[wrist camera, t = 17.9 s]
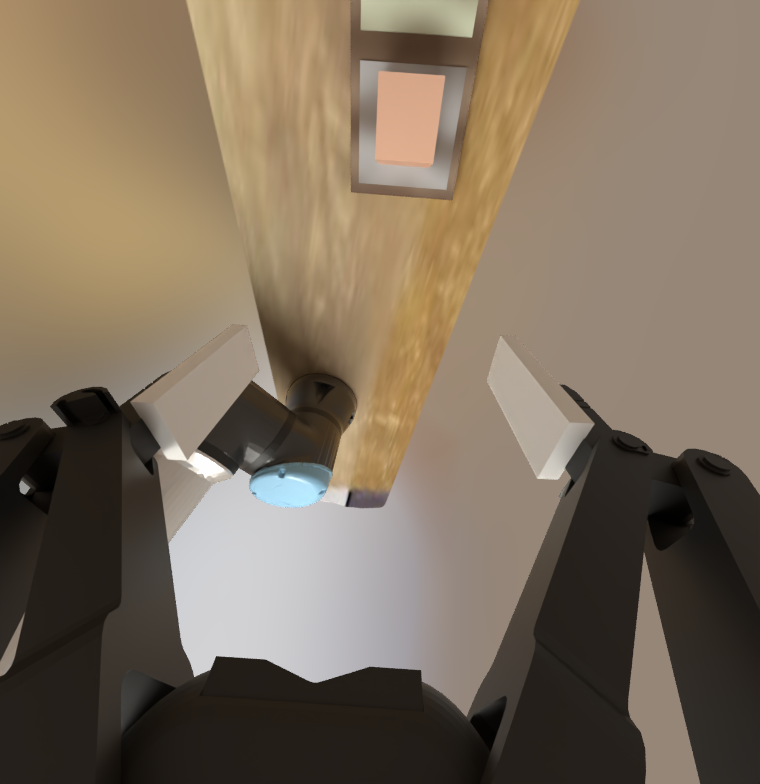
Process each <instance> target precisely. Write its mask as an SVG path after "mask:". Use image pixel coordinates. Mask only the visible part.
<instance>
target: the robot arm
mask: <svg viewBox="0 0 760 784" xmlns="http://www.w3.org/2000/svg"><path fill="white" fill-rule="evenodd" d="M258 372H259V368H258V364H257V361H256V357H255V353H254V350H253V346H252V342H251V339H250V335H249V332H248V328H247V325H231V326H230V327H229V328H227V329H226V330H225V331H223V332H222V333H221V334H219V335H218V336H217V337H215V338H214V339H213V340H211V341H210V342H209V343H207V344H206V345H205V346H203V347H202V348H201V349H200V350H198V351H197V352H195V353H194V354H193V355H192V356H190V357H189V358H188V359H186V360H185V361H184V362H182V363H181V364H180V365H178V366H177V367H176V368H174V369H173V370H171V371H169V372H167V373H165V374H163V375H161V376H160V377H159V378H157V379H156V380H155V381H153V383H151V384H149V385H148V386H147V387H145V389H142V390H141V391H140V392H138V393H137V394H136V395H134V396H133V397H132V398H130V399H129V400H128V401H126V402H125V403H124V404H122V405H121V406H120V407H119V406H118V404H117V403H116V401H115V400H114V398H113V397H112V396H111V394H110V393H109V392H108V390H107V388H103V387H90V388H85V389H81V390H77V391H74V392H71V393H69V394H67V395H64V396H62V397H60V398H59V399H57V400H56V401H54V402H53V404H52V405H51V406H50V407H51V408H52V409H53V410H54V411H55V413H56V414H57V415H58V416H59V417H60V418H61V419H62V421H63V422H64V423H65V424H66V425H67V426H66V427H60V428H53V429H51V428H50V427H49V426H48V425H47V424H46V423H45V422H44V421H43V420H42V419H41V418H26V419H22V420H18V421H12V422H9V423H8V424H7V423H6V424H3V425H1V426H0V784H645V776H646V761H645V747H644V743H643V739H642V736H641V732H640V731H639V729H638V728H637V727H636V725H635V724H634V723H633V721H632V720H631V718H630V716H629V711H628V695H629V687H630V686H629V685H630V677H631V668H632V658H633V648H634V639H635V629H636V620H637V611H638V601H639V591H640V582H641V572H642V564H643V553H645V556H646V561H647V565H648V569H649V573H650V577H651V581H652V586H653V590H654V594H655V598H656V602H657V606H658V610H659V615H660V619H661V623H662V627H663V631H664V635H665V639H666V643H667V648H668V652H669V656H670V660H671V664H672V668H673V673H674V677H675V681H676V685H677V689H678V693H679V697H680V702H681V705H682V710H683V714H684V718H685V722H686V726H687V730H688V735H689V739H690V743H691V747H692V751H693V755H694V759H695V764H696V767H697V771H698V776H699V780H700V784H760V495H759V493H758V492H757V490H756V489H755V488H754V486H753V485H752V483H751V482H750V480H749V479H748V477H747V476H746V475H745V474H744V473H743V472H742V471H741V470H740V469H739V468H738V467H737V466H735V465H734V464H732V463H731V462H730V461H729V460H727V459H725V458H722V457H721V456H719V455H716V454H713V453H710V452H707V451H704V450H699V449H687V450H685V451H684V452H683V453H682V454H681V455H680V456H679V457H678V458H673V457H668V456H665V455H661V454H657V453H653V451H652V449H651V448H650V447H649V446H648V445H647V444H646V443H644V442H643V441H642V440H640V439H639V438H637V437H635V436H633V435H631V434H628V433H625V432H622V431H618V430H612V429H611V428H610V427H609V426H608V425H607V424H606V423H605V422H604V421H603V420H602V419H601V417H600V416H599V415H598V414H597V413H596V412H595V411H594V410H593V409H590V406H589V405H588V404H587V403H586V402H584V400H583V399H582V398H581V397H580V396H579V395H578V393H577V392H575V391H574V390H572V389H570V388H569V387H567V386H566V385H559V384H558V382H557V381H556V380H555V379H554V378H553V377H552V376H551V375H550V374H549V372H548V371H547V370H546V369H545V368H544V367H543V366H542V365H541V364H540V363H539V361H538V360H537V359H536V358H535V357H534V356H533V355H532V354H531V353H530V352H529V350H528V349H527V348H526V347H525V346H524V345H523V344H522V343H521V341H520V340H519V339H518V338H517V337H516V336H503V335H500V338H499V342H498V345H497V348H496V352H495V355H494V358H493V361H492V365H491V368H490V372H489V375H488V378H487V382H488V384H489V386H490V388H491V390H492V392H493V394H494V396H495V398H496V400H497V402H498V404H499V405H500V407H501V409H502V411H503V413H504V415H505V417H506V419H507V421H508V423H509V425H510V427H511V429H512V431H513V432H514V435H515V437H516V438H517V440H518V442H519V444H520V446H521V448H522V450H523V452H524V454H525V456H526V458H527V460H528V462H529V464H530V466H531V467H532V470H533V471H534V473H535V475H536V477H537V478H539V479H559V478H560V476H561V474H562V473H563V471H564V470H565V468H566V470H567V472H568V473H569V474H570V476H571V479H570V480H569V482H568V483H567V485H566V486H565V487H564V489H563V490H562V492H561V493H560V495H559V496H558V497H560V498H561V500H560V502H559V505H558V507H557V509H556V512H555V514H554V517H553V519H552V522H551V524H550V526H549V529H548V531H547V534H546V536H545V538H544V541H543V543H542V546H541V548H540V551H539V553H538V555H537V558H536V560H535V563H534V565H533V568H532V570H531V573H530V575H529V577H528V580H527V582H526V585H525V587H524V589H523V592H522V594H521V597H520V599H519V602H518V604H517V606H516V609H515V611H514V614H513V616H512V618H511V621H510V623H509V626H508V628H507V631H506V633H505V636H504V638H503V640H502V643H501V645H500V648H499V650H498V652H497V655H496V657H495V660H494V662H493V664H492V666H491V668H490V670H489V672H488V673H487V675H486V677H485V678H484V680H483V682H482V684H481V686H480V688H479V690H478V692H477V694H476V696H475V699H474V701H473V703H472V705H471V708H470V710H469V712H468V715H467V717H466V716H465V715H464V714H463V713H462V712H461V711H460V710H459V709H458V708H457V706H456V705H455V704H453V703H452V702H451V701H450V700H449V699H448V698H446V696H444V695H443V694H442V693H440V692H439V691H437V690H436V689H434V688H433V687H431V686H429V685H428V684H425V683H423V682H422V679H421V670H408V669H395V668H380V667H368V668H365V669H362V670H358V671H355V672H352V673H349V674H345V675H342V676H339V677H335V678H332V679H329V680H325V681H322V682H319V683H313V682H310V681H307V680H305V679H303V678H301V677H299V676H297V675H295V674H293V673H291V672H289V671H287V670H285V669H283V668H281V667H279V666H277V665H275V664H273V663H271V662H269V661H267V660H263V659H248V658H234V657H219V656H216V658H215V661H214V663H213V666H212V668H211V670H210V671H207V672H205V673H202V674H200V675H198V676H196V677H194V675H193V670H192V667H191V664H190V662H189V660H188V658H187V655H186V653H185V652H184V650H183V646H182V644H181V638H180V631H179V623H178V616H177V608H176V601H175V593H174V585H173V578H172V570H171V562H170V554H169V546H168V543H169V542H170V540H171V539H172V538H173V536H174V535H175V534H176V533H177V531H178V530H179V529H180V527H181V526H182V525H183V523H184V522H185V521H186V519H187V518H188V517H189V515H190V514H191V513H192V511H193V510H194V509H195V507H196V506H197V505H198V503H199V502H200V501H201V499H202V498H203V497H204V495H205V494H206V492H207V491H208V490H209V489H210V488H211V486H212V485H213V484H215V483H217V482H220V481H223V480H227V479H230V478H232V477H233V475H234V474H235V473H236V471H237V470H238V468H240V469H242V470H243V471H245V472H247V473H248V474H250V475H251V476H252V477H251V479H250V485H249V488H250V491H251V492H252V494H253V495H254V496H255V497H256V498H258V499H259V500H261V501H263V502H265V503H268V504H271V505H275V506H280V507H304V506H308V505H311V504H313V503H315V502H317V501H319V500H320V499H321V498H322V497H323V496H324V495H325V493H326V490H327V488H328V485H329V482H330V479H331V478H332V471H333V467H334V463H335V459H336V455H337V451H338V447H339V443H340V439H341V435H342V434H343V433H344V432H345V430H346V429H347V428H348V427H349V425H350V424H351V423H352V421H353V419H354V416H355V412H356V407H357V404H356V399H355V396H354V394H353V392H352V391H351V390H350V388H349V387H348V386H347V385H346V384H344V383H343V382H342V381H340V380H338V379H336V378H334V377H332V376H328V375H324V374H309V375H305V376H303V377H301V378H299V379H297V380H296V381H295V382H294V383H293V384H292V386H291V388H290V389H289V391H288V393H287V396H286V406H284V405H283V404H282V403H280V402H279V401H278V400H277V399H275V398H274V397H273V396H271V395H270V394H269V393H267V392H266V391H265V390H264V389H262V388H261V387H260V386H259V385H257V384H256V383H255V382H253V381H252V379H253V378H254V377H255V375H256V374H257V373H258ZM21 480H22V481H23V482H24V483H25V484H27V485H28V486H29V487H30V489H29V490H28V492H27V493H26V494H25V495H24V494H22V493H21V492H20V488H19V483H20V481H21Z"/></svg>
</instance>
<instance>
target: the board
mask: <svg viewBox="0 0 760 784" xmlns="http://www.w3.org/2000/svg"><path fill="white" fill-rule="evenodd" d="M488 3H489V0H351V192H355V193H368V194H380V195H393V196H405V197H418V198H430V199H443V200H452V199H453V194H454V188H455V183H456V177H457V172H458V166H459V161H460V155H461V150H462V145H463V139H464V134H465V128H466V123H467V117H468V112H469V106H470V101H471V96H472V90H473V85H474V79H475V74H476V68H477V63H478V57H479V52H480V46H481V41H482V36H483V30H484V25H485V19H486V14H487V8H488ZM379 71H387V72H401V73H415V74H429V75H443V76H445V83H444V90H443V97H442V104H441V111H440V118H439V126H438V133H437V140H436V147H435V154H434V161H433V164H432V165H431V166H430V167H429V168H423V167H410V166H398V165H385V164H379V163H378V162H377V161H376V160H375V148H376V123H377V98H378V73H379Z"/></svg>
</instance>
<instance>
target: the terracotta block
mask: <svg viewBox="0 0 760 784" xmlns="http://www.w3.org/2000/svg"><path fill="white" fill-rule="evenodd" d="M444 83H445V76H443V75H429V74H415V73H401V72H387V71H379V73H378V98H377V123H376V148H375V160H376V161H377V162H378V163H379V164H385V165H398V166H410V167H423V168H429V167H430V166H431V165H432V164H433V161H434V154H435V147H436V140H437V133H438V126H439V118H440V111H441V104H442V97H443V90H444Z"/></svg>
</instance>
